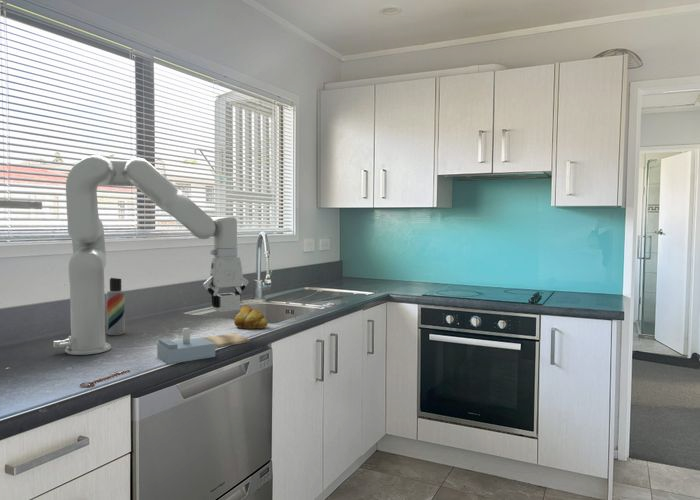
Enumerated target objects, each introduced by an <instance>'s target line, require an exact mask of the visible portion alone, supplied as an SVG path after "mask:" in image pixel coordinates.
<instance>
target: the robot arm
mask: <svg viewBox="0 0 700 500" xmlns="http://www.w3.org/2000/svg"><path fill="white" fill-rule="evenodd" d="M99 186H101V187H102V186H106V187H109V186H110V187H111V186H113V187H115V186H116V187H135V188H137V189H138V190H139V191H140V192H141V193H142V194H143V195H144V196H146V197H147V198H148V199H149V200H150V201H152V203H154V204H155V205H156V207H158V208H160V209H161V210H162V211H164V212H165V213H167V214H168V215H169V216H171V217H172V218H174V219H175V220H176V221H178V222H179V223H180V225H182V226H184V228H185V229H187V230H188V231H190V233H191V235H192V236H193V237H194V238H197V239H200V240H208V239H210V238H213V250H210V251H209V252H210V253H209V254H210V255H212V256H213V257H212V259H211V264H210V272H209V273H210V274H209V277H208V278H207V279H206V280H205V281H204V282H203V283H202V287H203V288H204V289H205V290H206V291H207V293H209V295H211V305H213V307H215V308H218V296H217V294H219V293H218V292H219V291H220V289H226V288H227V289H229V288H233V290H234V292H233V293H234V294H238V295H240V303H241V297H242V296H241V294H243V291H244V290H245V289H246V287H247V286H248V284H249V283H250V282H249V280H248V279H247V278H246V277H244V274H243V267H242V261H241V258H240V257H239V256H238V220H237V219H236V217H235V216H215V217H211V216H209V215H208V214H207V213H206V212H205V211H204V210H203V209H201V208H200V206H199V205H197V204H196V203H195V202H194V201H192V200H191V198H189V197H188V196H187V195H186V194H184V192H183V191H182V190H181V189H180V188H179V187H177V186H176V185H175V184H174V183H173V182H171V180H169V179H168V178H167V177H166V176H165V174H163V173H162V172H161V171H159V169H157V168H156V167H155V166H153V165H152V163H150V162H149V161H147V160H146V159H145V158H142V157H135V158H134V157H133V158H132V159H130V160H129V159H128V160H127V159H124V160H120V159H109V158H106V156H101V155H98V154H97V155H95V154H94V155H90V156H87V157H84V158H83V159H80V160H79V161H78V162H76V163H75V164H74V165H73V167H71V169H70V171H69V173H68V175H67V178H66V182H65V197H66V198H65V200H66V201H65V202H66V217H67V233H68V236H69V237H70V238H71V243H72V256H71V257H70V259H69V261H68V279H69V280H68V281H69V301H70V302H69V303H70V306H69V307H70V335H68V338H65V339H63V340H53V343H52V344H53V348H65V349H64V350H65V353H66V354H68V355H74V356H86V355H95V354H101V353H105V352H107V351H109V350H111V348H112V346H111V343H108V342H106V298H105V294H106V293H105V268H106V265H107V253H106V241H105V240H106V239H105V230H104V229H105V228H104V225H103V222H102V219H100V217H99V207H98V206H99V205H98V191H97V190H98V187H99ZM210 286H211V287H210Z"/></svg>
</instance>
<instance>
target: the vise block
mask: <svg viewBox="0 0 700 500" xmlns="http://www.w3.org/2000/svg"><path fill="white" fill-rule="evenodd" d="M156 348H157V350H156V354H157V355H156V356H157V357H156V358H159V359H160V360H162V361H163V362H165V363H166V364H169V365H172V364H176V363H177V364H178V363H183V362H190V361H197V360H203V359H209V358H215V357H216V347H215V343H213V342H211V341H209V340H207V339H205V338H203V337H195V338H191V329H190V327H183V328H182V339H180V340H173V341H172V340H171V339H168V338H160V339H158V343H156Z"/></svg>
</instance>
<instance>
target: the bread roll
mask: <svg viewBox="0 0 700 500" xmlns="http://www.w3.org/2000/svg"><path fill="white" fill-rule="evenodd" d="M233 323H234V325H235V327H237V328H239V329H240V328H241V329H243V328H244V329H249V330H250V329H251V330H252V329H253V330H254V329H263V328H266V327H267V326H268V320H267V318H265V315H264V313H263V312H262V311H261V310H259V309H253V308H252V307H251V306H249V305H247V304H246V305H242V306H240V310H239V312H238V314H236V315H235V317H234V322H233Z"/></svg>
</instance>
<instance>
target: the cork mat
mask: <svg viewBox="0 0 700 500" xmlns="http://www.w3.org/2000/svg"><path fill="white" fill-rule="evenodd" d="M203 338H205V339H207V340H209V341H211V342H213V343H215V348H220V347H226V346H233V345H241V344H246V343H247V344H248V343H250V342H251V340H250V339H249V338H246V337H244V336H242V335H239V334H236V333H228V334H227V333H226V334H221V335H212V336H204V337H203Z"/></svg>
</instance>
